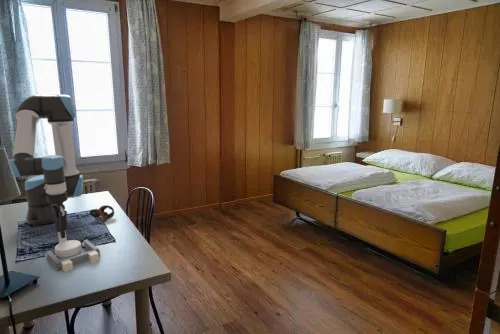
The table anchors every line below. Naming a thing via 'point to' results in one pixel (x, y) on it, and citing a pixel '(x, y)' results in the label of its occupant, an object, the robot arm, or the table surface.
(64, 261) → the grey u-shaped frame
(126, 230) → the table surface
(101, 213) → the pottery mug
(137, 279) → the table surface
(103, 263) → the table surface
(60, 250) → the white round disc
